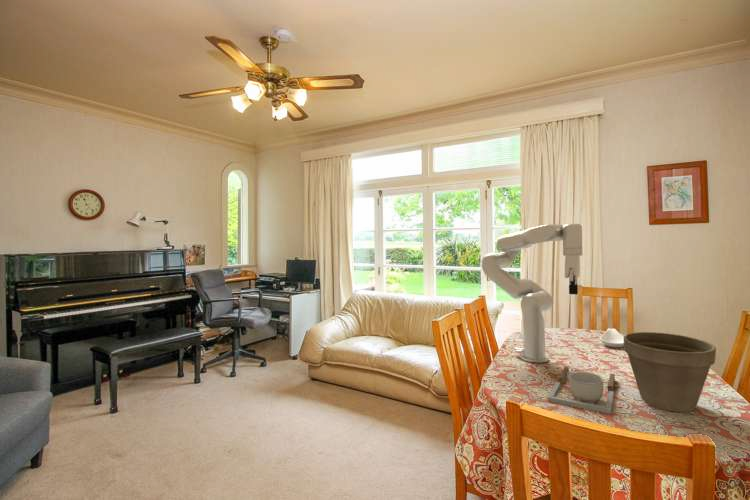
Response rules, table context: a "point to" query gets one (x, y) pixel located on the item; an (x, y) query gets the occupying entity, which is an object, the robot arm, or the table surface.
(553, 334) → the table surface
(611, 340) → the white sneaker
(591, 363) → the table surface
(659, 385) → the plant pot
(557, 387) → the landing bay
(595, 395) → the teacup
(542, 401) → the table surface
